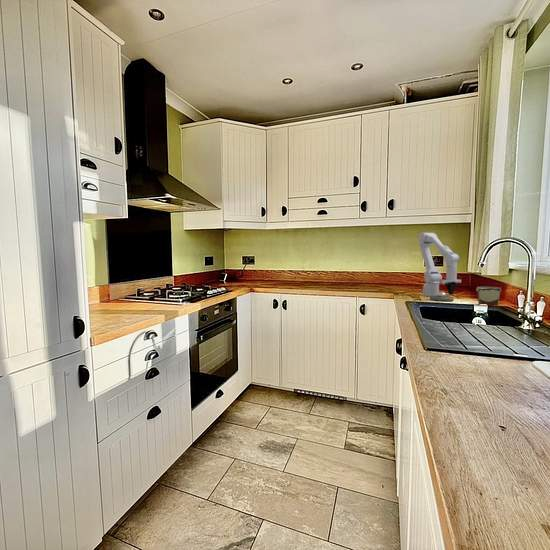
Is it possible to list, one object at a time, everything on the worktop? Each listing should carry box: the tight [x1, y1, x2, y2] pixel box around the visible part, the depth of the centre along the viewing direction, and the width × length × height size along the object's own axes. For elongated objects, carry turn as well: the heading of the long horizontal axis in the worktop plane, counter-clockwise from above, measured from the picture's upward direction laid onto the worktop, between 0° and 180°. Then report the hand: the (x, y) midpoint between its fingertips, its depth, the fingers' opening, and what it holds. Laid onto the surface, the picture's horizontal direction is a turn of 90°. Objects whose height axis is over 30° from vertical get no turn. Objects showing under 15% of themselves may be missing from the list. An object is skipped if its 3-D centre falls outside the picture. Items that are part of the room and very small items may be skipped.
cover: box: [437, 290, 447, 297], centre depth 188 cm, size 5×5×3 cm
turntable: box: [429, 295, 455, 302], centre depth 188 cm, size 13×13×2 cm
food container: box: [475, 286, 502, 306], centre depth 169 cm, size 12×6×10 cm, turn 84°
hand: (450, 294), depth 190 cm, fingers closed
